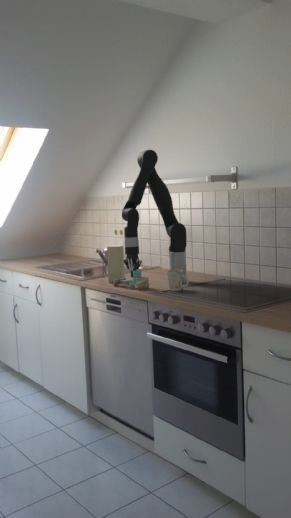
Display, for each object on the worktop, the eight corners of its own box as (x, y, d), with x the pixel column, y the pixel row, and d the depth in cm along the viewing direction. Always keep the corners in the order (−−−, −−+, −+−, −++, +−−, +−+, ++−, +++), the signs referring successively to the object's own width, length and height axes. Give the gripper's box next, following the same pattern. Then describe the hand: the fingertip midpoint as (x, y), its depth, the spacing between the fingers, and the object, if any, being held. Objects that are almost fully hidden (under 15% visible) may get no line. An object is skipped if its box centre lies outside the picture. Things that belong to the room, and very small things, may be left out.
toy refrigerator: (125, 280, 299) (123, 245, 296) (121, 283, 292) (119, 246, 289) (112, 280, 301) (110, 245, 298) (108, 282, 294) (106, 246, 291)
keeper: (141, 284, 274) (141, 269, 273) (134, 286, 271) (134, 271, 270) (135, 283, 278) (135, 269, 277) (128, 285, 275) (128, 270, 274)
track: (148, 287, 273) (148, 276, 272) (137, 290, 267) (137, 278, 267) (124, 284, 287) (124, 273, 287) (113, 286, 282) (113, 275, 281)
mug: (174, 288, 269) (173, 269, 267) (193, 290, 261) (193, 270, 259) (164, 290, 262) (163, 271, 261) (184, 292, 254) (183, 273, 253)
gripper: (145, 245, 270) (146, 277, 273) (129, 244, 280) (130, 275, 282) (134, 246, 266) (136, 279, 268) (118, 245, 275) (120, 277, 278)
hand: (133, 277), depth 275 cm, fingers closed
